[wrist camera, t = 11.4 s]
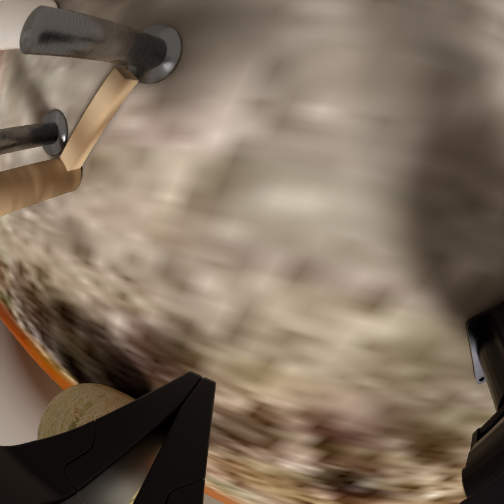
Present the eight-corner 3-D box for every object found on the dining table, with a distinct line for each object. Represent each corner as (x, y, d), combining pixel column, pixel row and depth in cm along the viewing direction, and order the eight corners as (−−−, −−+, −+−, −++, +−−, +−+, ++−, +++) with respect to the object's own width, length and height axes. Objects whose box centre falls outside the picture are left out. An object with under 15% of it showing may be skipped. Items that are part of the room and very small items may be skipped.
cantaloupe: (132, 348, 28) (30, 454, 14) (213, 446, 30) (154, 550, 17) (70, 365, 34) (-3, 434, 21) (136, 443, 37) (82, 515, 23)
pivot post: (193, 55, 16) (73, 18, 8) (144, 96, 18) (19, 94, 9) (164, 13, 16) (52, -29, 7) (120, 53, 18) (4, 39, 9)
